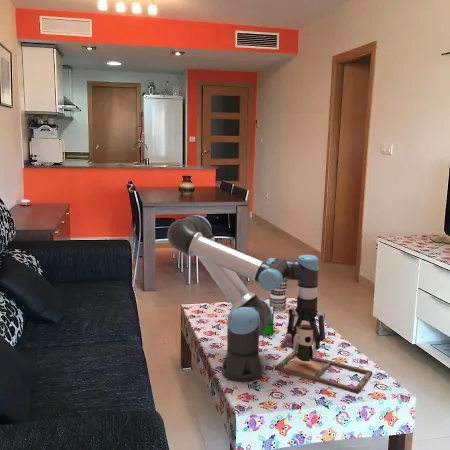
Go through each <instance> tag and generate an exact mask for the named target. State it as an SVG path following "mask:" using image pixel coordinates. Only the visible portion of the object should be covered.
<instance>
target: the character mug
mask: <svg viewBox="0 0 450 450" xmlns="http://www.w3.org/2000/svg"><path fill="white" fill-rule="evenodd" d="M314 340H315V338H314V335H313V330H312V328H311V325H310V324H301V325H300V326H299V327H298V326H297V330H296V334H295V342H297V343H298V344H299V346H298V351H297V356H296V357H297V358H298V359H300V360H301V361H310V358H311V359H312V360H311V361H313V341H314Z"/></svg>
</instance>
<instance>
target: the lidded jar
mask: <svg viewBox="0 0 450 450" xmlns="http://www.w3.org/2000/svg"><path fill="white" fill-rule="evenodd" d="M291 308H297V306H293V307H290V308H288V309H287V319H288V320H289V316H290V314H289V309H291ZM298 317H299V316H298V314H297V312H296V313H295V318H294V324H293V328H294V327H295V325H296V322H297V319H298ZM301 324H309V322H308V321H306V320H304V321H303V320H302V323H301Z"/></svg>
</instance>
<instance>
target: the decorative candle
mask: <svg viewBox="0 0 450 450" xmlns="http://www.w3.org/2000/svg"><path fill="white" fill-rule="evenodd" d="M287 286H288V279H285V281H283V282H282V284H281V285H280V286H279V287H278V288H276V289H275V290H272V291H270V295H269V303H268V304H269V306H270V307H274V314H283V313H286V311H287V294H286V292H287V291H286V290H287V289H288V288H287Z"/></svg>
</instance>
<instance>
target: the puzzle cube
mask: <svg viewBox="0 0 450 450" xmlns="http://www.w3.org/2000/svg"><path fill="white" fill-rule="evenodd" d="M270 308H271V310H272V319H271V322H270V324H269V326H268V327H267V328H266V329H265V330H264V331H263V333H262V334H261V335H263V336H264V335H265V336H266V335H267V336H273V335H274V314H275V313H274V307H270Z"/></svg>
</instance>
